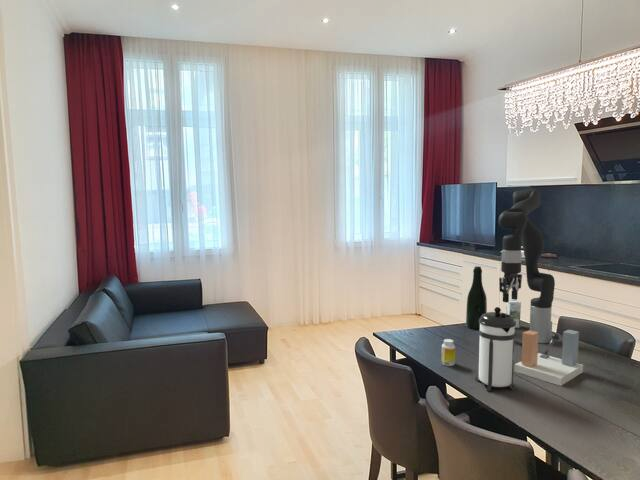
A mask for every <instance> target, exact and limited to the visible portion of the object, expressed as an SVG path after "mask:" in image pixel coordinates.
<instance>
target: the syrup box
mask: <svg viewBox="0 0 640 480" xmlns="http://www.w3.org/2000/svg"><path fill="white" fill-rule="evenodd" d="M505 308H506V313H505V314H508V315H510V316H512V317H513V318H514V321H515V322H516V326H515V329H521V328H520V327H521V314H522V313H521V308H522V302H521V301H520V300H519V299H517V300H514V299H509V302H507V303H506V307H505Z"/></svg>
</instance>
